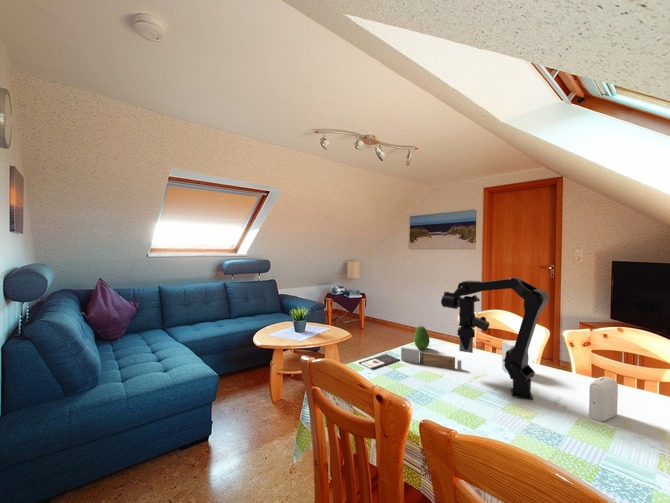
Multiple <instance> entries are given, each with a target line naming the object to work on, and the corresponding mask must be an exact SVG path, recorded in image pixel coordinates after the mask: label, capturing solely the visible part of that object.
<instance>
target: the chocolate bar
mask: <svg viewBox="0 0 670 503" xmlns="http://www.w3.org/2000/svg"><path fill="white" fill-rule="evenodd" d="M397 361H398V362H400V361H401V358H397V357H394V356H392V355H389V354H387V353H385V354H382V355H378V356H375V357H373V358H368V359H366V360H363V361H359V362H358V364H359V365H362V366H363V367H365V368H367V369H370V370H372V371H374V370H377V369H380V368H383V367H386V366H389V365H391V364H394V362H395V363H398V362H397Z"/></svg>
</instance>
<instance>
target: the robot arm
mask: <svg viewBox="0 0 670 503" xmlns="http://www.w3.org/2000/svg"><path fill="white" fill-rule="evenodd" d="M509 289H510V290H511V289H512V290H513V291H514V292H515V293H516V294H517V295H518V296H519V297H520V298H522V299H523V310H524V313H523V314H524V315H523V317H522V319H521V323H520V327H519V330H518V334H517V337H516V340H515V341H516V343H515V346H514V349H513V348H512V349H510V350H508V351H506V356H505V359H504V360H503V361H504V362H505V363H504V366H505V368H506V370H507V371H508V373H509V374H508V373H507V374H508V376H509V378H510V379H511V380H512V387H510V391H511V396H512V397H514V398H520V399H525V400H531V401H534V397H533V394H532V378H533V377H534V376H535V373H536V372H535V371H534V369H533V368H532V367H531V366H530V364H529V349H530V344H531V342H532V338H533V335H534V332H535V329H536V325H537V322H538V319H539V316H540V315H541V313H542V312H543V310H545V307H546V305H547V304H548V303H549V301H550V295H549V294H548V292H547V291H545V290H543V289H540V288H539V289H538V288H537V287H535V286H534V285H533V284H530V283H529V282H526V281H525V280H523V279H522V278H520V277H510V278H504V279H495V280H493V279H492V280H486V281H481V280H464V281H460V282H458V284H457V288H456V289H455V290H454V292H450V291H444V292H443V296H442V298H441V300H440V301H441V302H440V304H441V307H442V308H443V307H444V308H449V309H453V310H457V309H459V312H458V317H459V322H458V326H459V327H458V328H457V336H458V337H459V340H460V339H461V342H462V344H463V347H464V349H465V350H468V346H469V342H470V339H471V338H472V337H473V338H475V336H476V334H475V333H476V332H475V331H476V330H475V328H478V329H479V330H482V331H484V332H488V329H489V327H490V322H489V321H487V317H485V316H483V315H481V317H477V316H476V313H475V306H476V305H475V303H477V302H480V301H481V299H480V298H479V297H478V296H477V295H476V294H477V293H481V292H485V291H497V290H509ZM473 294H475V295H473ZM469 295H472V296H469Z"/></svg>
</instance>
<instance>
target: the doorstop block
mask: <svg viewBox="0 0 670 503" xmlns="http://www.w3.org/2000/svg"><path fill="white" fill-rule="evenodd" d="M473 341H474V337H472V338H471V339H470V342H469V346H468V350H465V349H464V347H463V344H462V342H461V339H460V338H459V352H461V353H471V354H473V349H474V346H473V345H474V343H473Z"/></svg>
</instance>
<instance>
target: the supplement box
mask: <svg viewBox="0 0 670 503" xmlns="http://www.w3.org/2000/svg"><path fill="white" fill-rule="evenodd" d="M515 343H516V340H503V341H502V343H501V344H502V345H501V346H502V347H501V350H502V351H501V353H502V354H501V357H502V358H501V369H502V370H503V371H504V372H505V373H507V374H508V375H509V373H508V371H507V370H506V368H505V366H504V363H505V362H504V361H503V360H504V359H505V356H506V351H508V350H510V349H512V348H513V349H514V346H515Z"/></svg>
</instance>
